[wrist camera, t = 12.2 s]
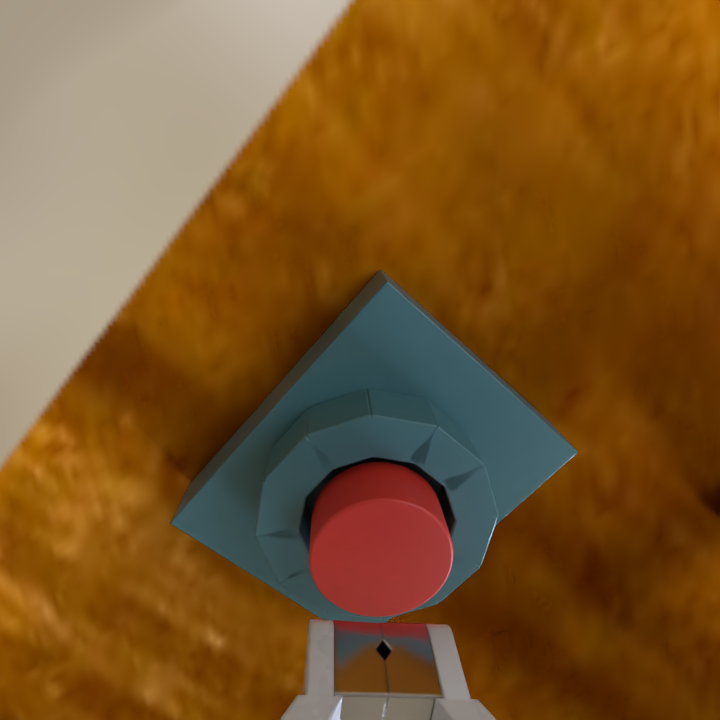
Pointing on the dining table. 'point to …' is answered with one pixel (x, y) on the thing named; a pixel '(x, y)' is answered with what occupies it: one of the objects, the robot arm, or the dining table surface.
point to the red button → (379, 540)
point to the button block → (372, 445)
